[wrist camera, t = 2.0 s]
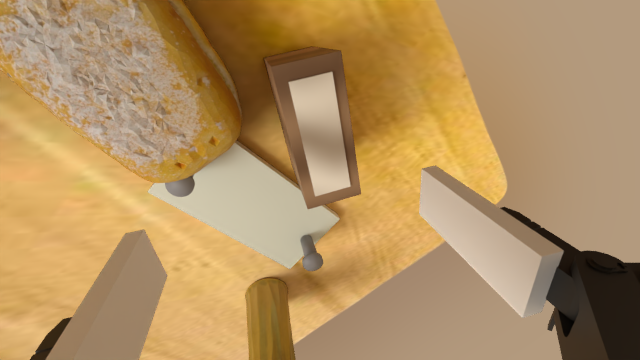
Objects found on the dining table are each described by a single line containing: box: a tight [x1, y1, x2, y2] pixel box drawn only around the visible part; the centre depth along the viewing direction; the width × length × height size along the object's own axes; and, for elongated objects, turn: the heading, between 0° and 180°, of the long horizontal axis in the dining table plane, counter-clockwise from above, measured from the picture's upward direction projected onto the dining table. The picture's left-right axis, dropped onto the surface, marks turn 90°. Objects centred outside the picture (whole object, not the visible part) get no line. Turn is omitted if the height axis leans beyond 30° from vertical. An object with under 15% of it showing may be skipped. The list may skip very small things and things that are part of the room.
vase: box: [245, 278, 295, 360], centre depth 35 cm, size 6×6×14 cm
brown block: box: [264, 47, 361, 209], centre depth 27 cm, size 12×5×10 cm, turn 11°
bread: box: [0, 0, 242, 183], centre depth 21 cm, size 13×26×8 cm, turn 35°
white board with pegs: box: [148, 140, 340, 271], centre depth 32 cm, size 10×20×6 cm, turn 46°
